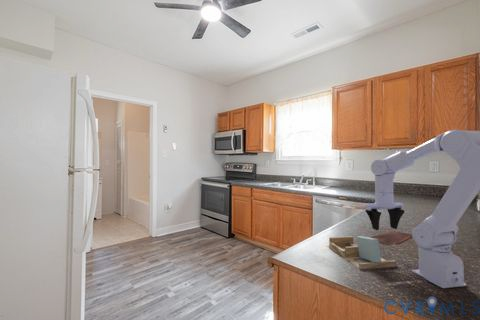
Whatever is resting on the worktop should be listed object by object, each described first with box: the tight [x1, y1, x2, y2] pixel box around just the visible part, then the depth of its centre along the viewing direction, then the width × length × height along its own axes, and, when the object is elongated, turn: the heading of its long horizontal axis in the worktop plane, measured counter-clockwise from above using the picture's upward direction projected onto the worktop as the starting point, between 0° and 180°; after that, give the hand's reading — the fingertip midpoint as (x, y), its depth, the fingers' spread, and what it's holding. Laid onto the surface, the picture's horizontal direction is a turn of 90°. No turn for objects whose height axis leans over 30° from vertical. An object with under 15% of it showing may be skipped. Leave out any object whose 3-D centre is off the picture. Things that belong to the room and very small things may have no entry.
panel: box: [356, 235, 382, 262], centre depth 75 cm, size 8×2×7 cm, turn 9°
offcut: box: [348, 241, 358, 246], centre depth 87 cm, size 4×3×2 cm
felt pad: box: [354, 258, 373, 263], centre depth 74 cm, size 6×8×1 cm
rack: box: [326, 235, 398, 270], centre depth 80 cm, size 20×13×4 cm, turn 9°
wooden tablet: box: [368, 231, 413, 246], centre depth 99 cm, size 26×2×10 cm
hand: (384, 228), depth 81 cm, fingers open, 7 cm apart
